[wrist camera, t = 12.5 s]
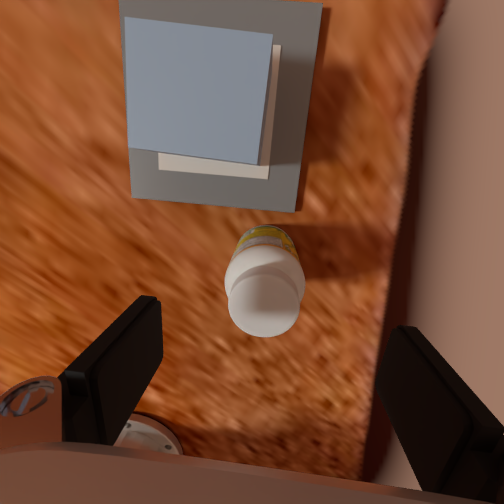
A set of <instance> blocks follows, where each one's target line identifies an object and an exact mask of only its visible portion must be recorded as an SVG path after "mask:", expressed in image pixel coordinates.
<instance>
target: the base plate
mask: <svg viewBox="0 0 504 504" xmlns="http://www.w3.org/2000/svg"><path fill="white" fill-rule="evenodd" d="M322 6H323V3H312V2H296V1H279V0H119V12H120V27H121V42H122V57H123V72H124V87H125V102H126V117H127V87H126V52H125V17H131V18H140V19H148V20H157V21H165V22H173V23H182V24H190V25H199V26H207V27H216V28H224V29H232V30H241V31H249V32H258V33H266V34H273V58H272V76H271V84H270V92H269V100H268V107H267V115H266V123H265V131H264V138H263V146H262V154H261V162H260V166H255V165H248V164H240V163H233V162H225V161H218V160H210V159H202V158H195V157H187V156H180V155H172V154H165V153H158V152H152V151H147V150H141V149H135V148H129V162H130V177H131V192H132V198H142V199H153V200H163V201H174V202H185V203H196V204H206V205H217V206H228V207H238V208H249V209H260V210H271V211H281V212H292V213H294V212H295V204H296V197H297V190H298V182H299V175H300V168H301V160H302V153H303V146H304V138H305V131H306V124H307V116H308V109H309V102H310V94H311V87H312V80H313V72H314V65H315V58H316V50H317V43H318V36H319V28H320V21H321V14H322ZM127 132H128V122H127Z"/></svg>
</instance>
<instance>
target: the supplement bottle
mask: <svg viewBox="0 0 504 504" xmlns="http://www.w3.org/2000/svg"><path fill="white" fill-rule="evenodd" d="M225 290H226V294H227V296H228V299H229V301H228V308H229V313H230V316H231V318H232V320H233V321H234V323H235V324H236V325H237V326H238V327H239V328H240V329H241V330H243V331H244V332H246V333H248V334H250V335H253V336H257V337H273V336H277V335H280V334H282V333H284V332H286V331H287V330H288V329H290V328H291V327H292V325H293V324H294V323H295V321H296V320H297V317H298V315H299V310H300V302H301V300H302V298H303V295H304V291H305V277H304V273H303V269H302V267H301V264H300V261H299V258H298V254H297V252H296V249H295V246H294V243H293V241H292V240H291V238H290V237H289V236H288V235H287V234H286V233H285V232H284V231H283V230H282V229H280V228H278V227H275V226H271V225H261V226H257V227H254V228H252V229H250V230H248V231H247V232H246V233H245V234H244V235H243V236H242V237H241V239H240V241H239V243H238V245H237V247H236V249H235V252H234V254H233V256H232V259H231V261H230V264H229V266H228V269H227V271H226V276H225Z"/></svg>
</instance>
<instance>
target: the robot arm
mask: <svg viewBox="0 0 504 504" xmlns="http://www.w3.org/2000/svg"><path fill="white" fill-rule="evenodd" d="M162 358H163V335H162V315H161V302H160V301H157V298H156V297H153V296H145V295H141V296H140V297H139V298H137V299H136V300H135V301H134V302H133V303H132V304H131V305H130V306H129V307H128V308H127V309H126V310H125V311H124V312H123V313H122V314H121V315H120V316H119V317H118V318H117V319H116V320H115V321H114V322H113V323H112V324H111V325H110V326H109V327H108V328H107V329H106V330H105V331H104V332H103V333H102V334H101V335H100V336H99V337H98V338H97V339H96V340H95V341H94V342H93V343H92V344H91V345H90V346H89V347H87V348H86V349H85V350H84V351H83V352H82V353H81V354H80V355H79V356H78V357H77V358H76V359H75V360H74V361H73V362H72V363H71V364H70V365H69V366H68V367H67V368H66V369H65V371H64V372H62V373H61V374H60V375H59V376H58V377H57V378H56V377H52V376H39V377H35V378H31V379H28V380H26V381H23V382H21V383H19V384H17V385H15V386H13V387H12V388H10V389H9V390H7V391H6V392H5V393H4V394H2V395H1V396H0V504H504V435H503V433H504V426H503V425H502V424H501V423H500V422H499V421H498V419H497V418H496V417H495V416H494V415H493V414H492V413H491V411H490V410H489V409H488V408H487V407H486V406H485V405H484V403H483V402H482V401H481V400H480V399H479V398H478V397H477V396H476V394H475V393H474V392H473V391H472V390H471V389H470V388H469V387H468V385H467V384H466V383H465V382H464V381H463V380H462V378H461V377H460V376H459V375H458V374H457V373H456V372H455V371H454V369H453V368H452V367H451V366H450V365H449V364H448V363H447V361H446V360H445V359H444V358H443V357H442V356H441V355H440V353H439V352H438V351H437V350H436V349H435V348H434V347H433V346H432V345H431V343H430V342H429V341H428V340H427V339H426V338H425V337H424V335H423V334H422V333H421V332H420V331H419V330H418V329H417V328H416V327H413V326H404V325H399V326H397V328H394V329H392V331H391V334H390V338H389V340H388V343H387V346H386V350H385V353H384V356H383V359H382V362H381V365H380V368H379V371H378V374H377V377H376V381H375V386H376V390H377V393H378V395H379V397H380V399H381V401H382V403H383V406H384V408H385V410H386V412H387V414H388V417H389V419H390V421H391V423H392V425H393V427H394V430H395V432H396V434H397V436H398V439H399V441H400V443H401V445H402V447H403V449H404V452H405V454H406V456H407V458H408V460H409V463H410V465H411V467H412V469H413V471H414V474H415V476H416V478H417V480H418V482H419V485H420V487H421V489H422V491H419V490H413V489H406V488H400V487H394V486H387V485H381V484H374V483H368V482H361V481H355V480H348V479H342V478H335V477H328V476H322V475H315V474H308V473H302V472H295V471H288V470H281V469H275V468H268V467H261V466H254V465H247V464H241V463H234V462H227V461H220V460H213V459H206V458H199V457H192V456H184V455H183V451H182V447H181V445H180V443H179V441H178V439H177V438H176V437H175V436H174V434H173V433H172V432H171V431H170V430H169V429H167V428H166V427H165V426H164V425H162V424H161V423H159V422H157V421H155V420H153V419H151V418H149V417H146V416H142V415H139V414H133V413H132V412H133V411H134V409H135V407H136V405H137V404H138V402H139V400H140V398H141V397H142V395H143V393H144V391H145V390H146V388H147V386H148V384H149V383H150V381H151V379H152V377H153V376H154V374H155V372H156V370H157V369H158V367H159V365H160V363H161V361H162Z"/></svg>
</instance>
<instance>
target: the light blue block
mask: <svg viewBox="0 0 504 504" xmlns="http://www.w3.org/2000/svg"><path fill="white" fill-rule="evenodd" d="M125 52H126V87H127V122H128V147H129V148H135V149H141V150H147V151H152V152H158V153H165V154H172V155H180V156H187V157H195V158H202V159H210V160H218V161H225V162H233V163H240V164H248V165H255V166H260V162H261V154H262V146H263V138H264V131H265V123H266V115H267V107H268V100H269V92H270V84H271V76H272V58H273V34H266V33H258V32H249V31H241V30H232V29H224V28H216V27H207V26H199V25H190V24H182V23H173V22H165V21H157V20H148V19H140V18H131V17H125Z"/></svg>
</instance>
